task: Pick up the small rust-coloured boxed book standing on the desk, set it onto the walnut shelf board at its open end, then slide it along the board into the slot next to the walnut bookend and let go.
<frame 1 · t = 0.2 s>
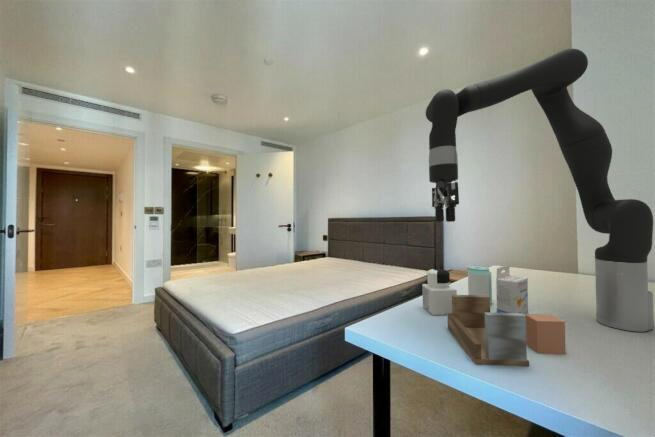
hand: (444, 221, 74), 29 cm above the table, tool pointing down, fingers open, 8 cm apart
book: (544, 349, 58), on the table
ink box: (512, 318, 75), on the table
shelf: (485, 344, 60), on the table
can: (480, 302, 89), on the table
container: (439, 311, 83), on the table
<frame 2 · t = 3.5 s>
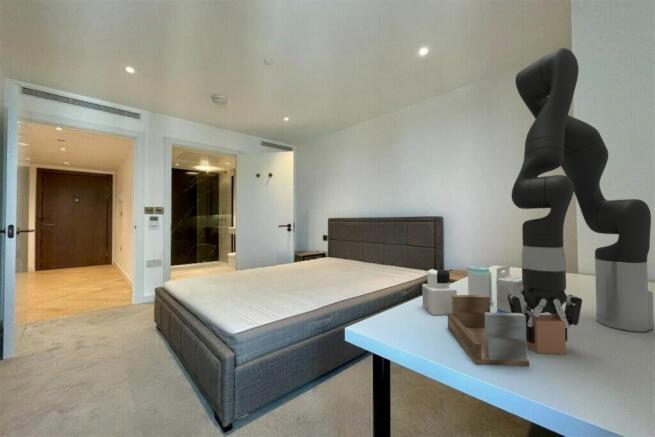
hand: (544, 341, 58), 2 cm above the table, tool pointing down, fingers closed on book, 5 cm apart
book: (545, 349, 58), on the table, touching gripper
everything else where it was.
when the fingers open (4 cm above the table, at t = 9.2 s): book drops 1 cm, resting on shelf.
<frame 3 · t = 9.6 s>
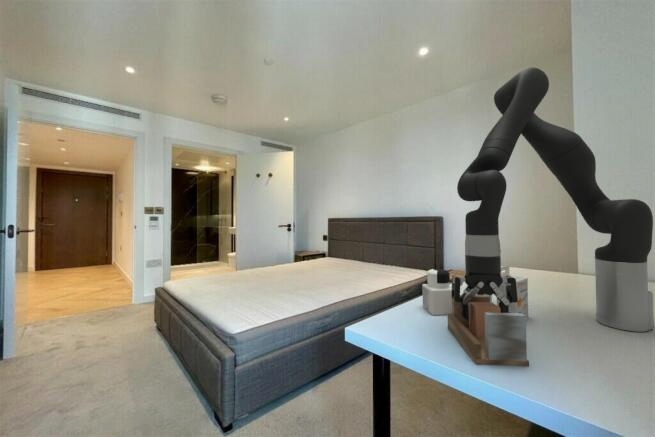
hand: (483, 318, 64), 5 cm above the table, tool pointing down, fingers open, 8 cm apart
book: (484, 333, 64), point 1 cm above the table, touching shelf
everything else where it was.
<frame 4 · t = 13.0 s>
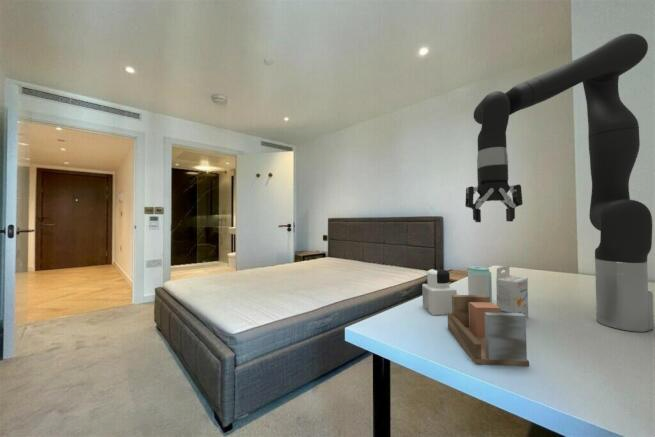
hand: (493, 221, 75), 28 cm above the table, tool pointing down, fingers open, 8 cm apart
nothing on the table moved.
at the end: book inside the target area (0.7 cm from its centre), point 1.0 cm above the table; book tilted 0°; the gripper is holding nothing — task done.
